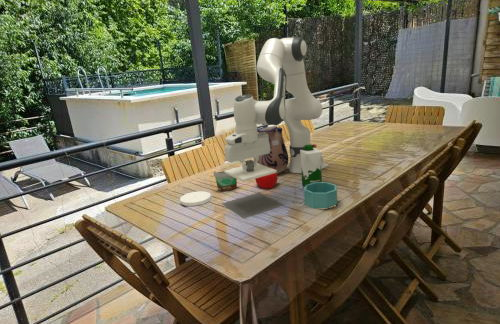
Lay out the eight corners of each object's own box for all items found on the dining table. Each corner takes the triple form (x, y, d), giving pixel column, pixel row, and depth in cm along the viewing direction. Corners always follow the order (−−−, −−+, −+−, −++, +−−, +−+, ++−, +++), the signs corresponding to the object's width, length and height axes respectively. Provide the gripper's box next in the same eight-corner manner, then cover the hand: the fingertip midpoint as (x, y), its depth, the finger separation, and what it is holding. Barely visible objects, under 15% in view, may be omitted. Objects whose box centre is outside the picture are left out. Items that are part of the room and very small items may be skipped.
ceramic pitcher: (287, 177, 181) (284, 130, 175) (248, 177, 186) (244, 132, 179) (290, 167, 198) (288, 124, 191) (254, 167, 202) (251, 125, 196)
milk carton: (316, 182, 169) (315, 143, 164) (325, 188, 161) (323, 147, 155) (299, 185, 167) (298, 145, 162) (307, 191, 159) (306, 149, 153)
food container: (217, 194, 165) (215, 174, 163) (215, 190, 171) (212, 171, 168) (242, 190, 168) (240, 170, 165) (239, 186, 174) (237, 167, 171)
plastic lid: (175, 203, 160) (174, 198, 159) (199, 194, 169) (198, 189, 168) (192, 210, 150) (191, 205, 149) (217, 200, 159) (216, 195, 158)
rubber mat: (259, 193, 162) (259, 192, 162) (284, 205, 145) (284, 204, 145) (221, 204, 153) (221, 203, 152) (244, 219, 136) (243, 218, 136)
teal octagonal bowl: (321, 194, 154) (321, 180, 152) (343, 203, 143) (343, 187, 141) (298, 202, 147) (298, 187, 145) (319, 212, 136) (319, 196, 134)
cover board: (256, 164, 156) (255, 154, 154) (276, 172, 142) (275, 160, 141) (224, 172, 148) (223, 161, 147) (243, 181, 135) (242, 169, 133)
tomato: (260, 192, 163) (258, 172, 160) (252, 184, 175) (251, 165, 172) (282, 188, 166) (281, 168, 163) (273, 180, 177) (272, 161, 175)
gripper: (263, 130, 148) (266, 161, 152) (221, 139, 139) (225, 171, 142) (272, 132, 143) (274, 164, 147) (228, 141, 133) (232, 175, 137)
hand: (249, 167), depth 144 cm, fingers closed on cover board, 3 cm apart
